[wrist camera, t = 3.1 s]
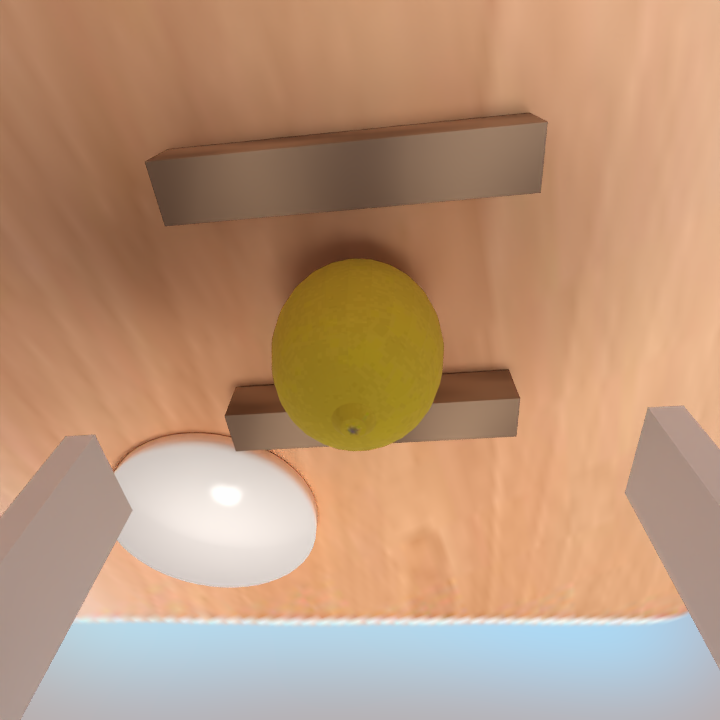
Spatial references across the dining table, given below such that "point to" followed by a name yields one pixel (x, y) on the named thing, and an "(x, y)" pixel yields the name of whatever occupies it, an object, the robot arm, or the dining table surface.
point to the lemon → (357, 355)
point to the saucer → (215, 511)
